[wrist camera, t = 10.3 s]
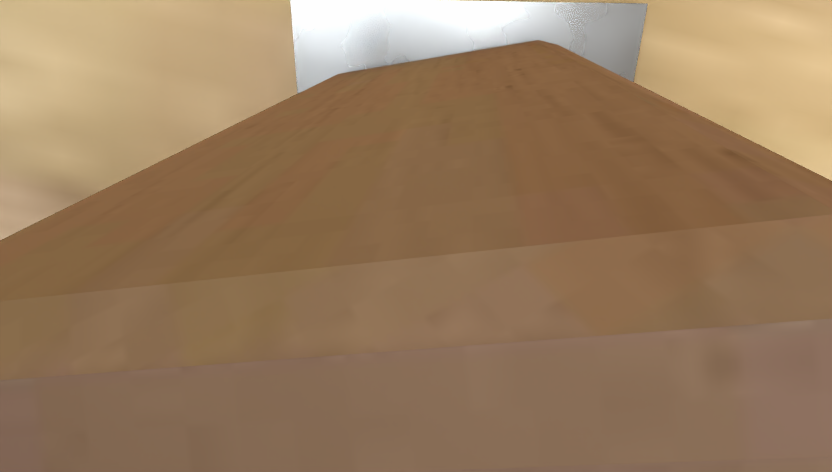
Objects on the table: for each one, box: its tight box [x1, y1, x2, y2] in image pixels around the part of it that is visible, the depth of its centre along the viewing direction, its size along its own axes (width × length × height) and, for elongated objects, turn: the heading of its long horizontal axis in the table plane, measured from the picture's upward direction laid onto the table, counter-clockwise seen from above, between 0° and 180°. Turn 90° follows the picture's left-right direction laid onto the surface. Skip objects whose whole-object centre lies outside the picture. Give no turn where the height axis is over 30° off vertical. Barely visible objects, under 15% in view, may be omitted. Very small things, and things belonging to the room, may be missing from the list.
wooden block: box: [0, 40, 832, 472], centre depth 14 cm, size 10×10×20 cm
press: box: [290, 0, 647, 93], centre depth 21 cm, size 14×22×12 cm, turn 179°
